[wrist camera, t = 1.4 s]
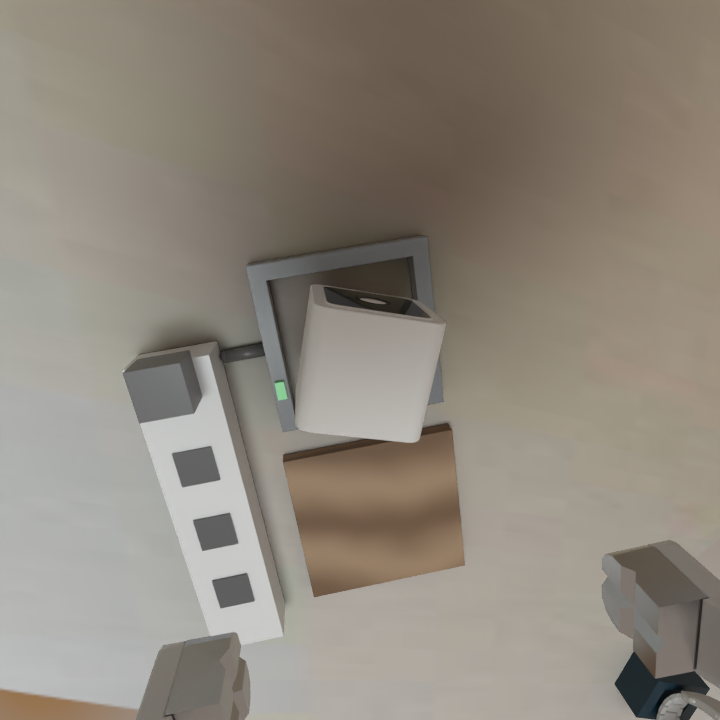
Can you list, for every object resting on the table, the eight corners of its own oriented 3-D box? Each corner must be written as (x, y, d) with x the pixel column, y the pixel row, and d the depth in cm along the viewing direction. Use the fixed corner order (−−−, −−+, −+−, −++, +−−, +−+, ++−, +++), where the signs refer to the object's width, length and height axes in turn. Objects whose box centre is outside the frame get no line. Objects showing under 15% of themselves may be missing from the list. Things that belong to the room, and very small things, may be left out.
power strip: (136, 347, 30) (103, 376, 25) (271, 324, 31) (265, 347, 26) (221, 617, 38) (209, 681, 33) (329, 594, 38) (334, 654, 33)
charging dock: (248, 263, 30) (244, 267, 28) (421, 235, 30) (428, 237, 29) (283, 422, 33) (282, 434, 31) (437, 393, 34) (445, 403, 32)
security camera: (405, 288, 31) (451, 324, 22) (385, 387, 33) (419, 460, 24) (309, 272, 30) (313, 304, 21) (294, 376, 32) (292, 447, 23)
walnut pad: (283, 455, 34) (283, 462, 33) (447, 423, 35) (451, 429, 34) (313, 587, 38) (314, 597, 37) (460, 556, 39) (464, 565, 38)
